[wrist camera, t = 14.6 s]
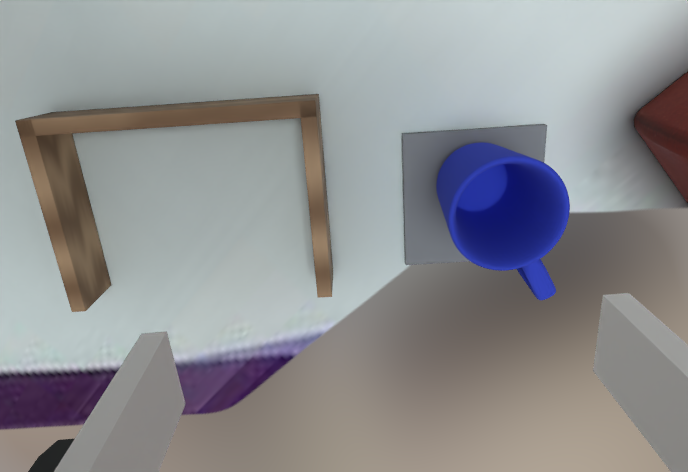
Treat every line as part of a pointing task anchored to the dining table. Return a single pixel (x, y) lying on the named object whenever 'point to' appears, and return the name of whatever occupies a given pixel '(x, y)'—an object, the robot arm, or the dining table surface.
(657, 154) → the plant pot
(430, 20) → the dining table surface
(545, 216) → the mug
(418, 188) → the mat
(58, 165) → the wooden u-shaped frame
